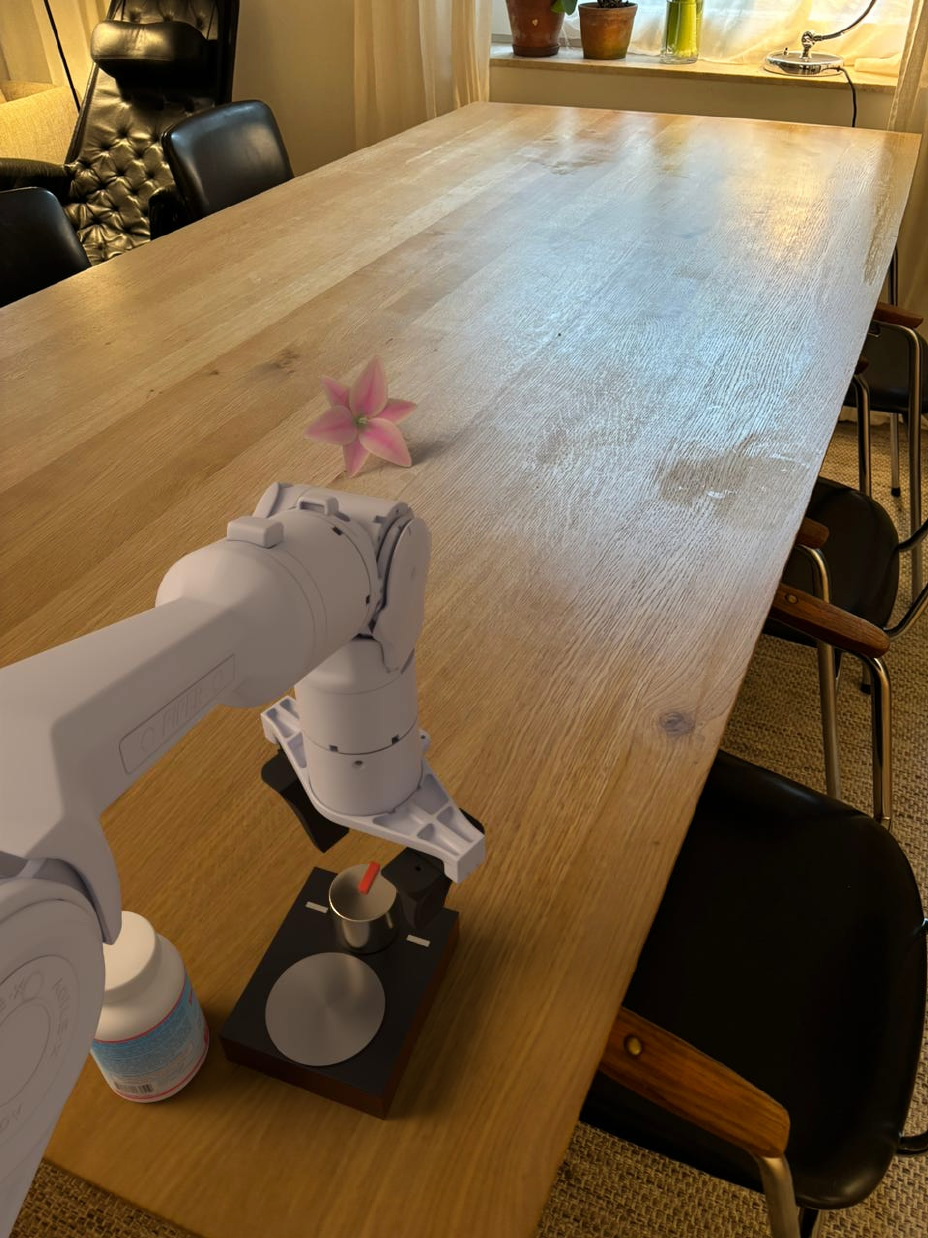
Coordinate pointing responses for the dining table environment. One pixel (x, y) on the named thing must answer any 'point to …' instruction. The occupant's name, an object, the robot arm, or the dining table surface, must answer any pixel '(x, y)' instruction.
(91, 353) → the dining table surface
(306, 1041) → the burner
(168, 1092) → the pill bottle
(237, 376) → the dining table surface
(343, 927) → the stove knob
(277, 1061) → the stove
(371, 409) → the lily
